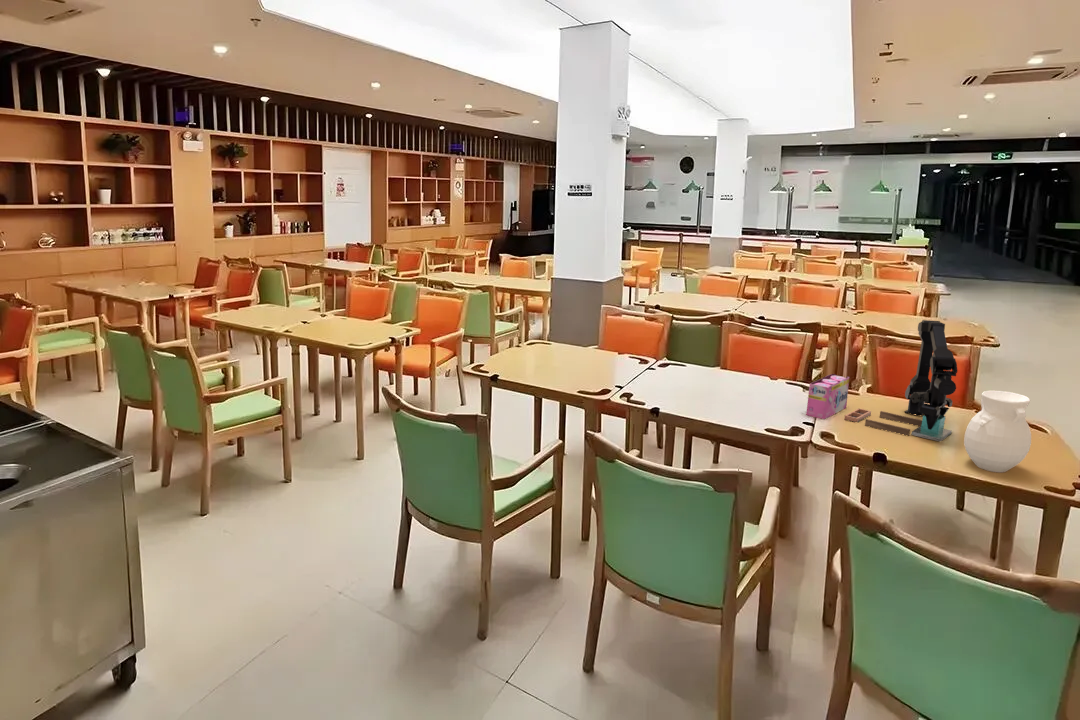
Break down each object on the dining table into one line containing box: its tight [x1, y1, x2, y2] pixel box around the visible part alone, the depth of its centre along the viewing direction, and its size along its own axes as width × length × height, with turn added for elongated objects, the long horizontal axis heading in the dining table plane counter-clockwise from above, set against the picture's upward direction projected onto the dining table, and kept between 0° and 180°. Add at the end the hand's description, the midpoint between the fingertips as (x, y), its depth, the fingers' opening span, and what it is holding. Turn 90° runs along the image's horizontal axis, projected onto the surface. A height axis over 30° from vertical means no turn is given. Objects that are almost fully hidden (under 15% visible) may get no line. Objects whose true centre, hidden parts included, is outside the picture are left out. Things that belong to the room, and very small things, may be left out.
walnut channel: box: [864, 410, 922, 437], centre depth 273 cm, size 16×16×2 cm
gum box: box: [805, 373, 850, 420], centre depth 290 cm, size 24×8×14 cm, turn 136°
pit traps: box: [844, 408, 872, 423], centre depth 283 cm, size 14×5×2 cm, turn 135°
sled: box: [910, 415, 952, 442], centre depth 263 cm, size 13×10×7 cm
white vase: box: [963, 389, 1032, 473], centre depth 231 cm, size 19×18×25 cm
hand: (932, 427), depth 264 cm, fingers closed on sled, 6 cm apart
